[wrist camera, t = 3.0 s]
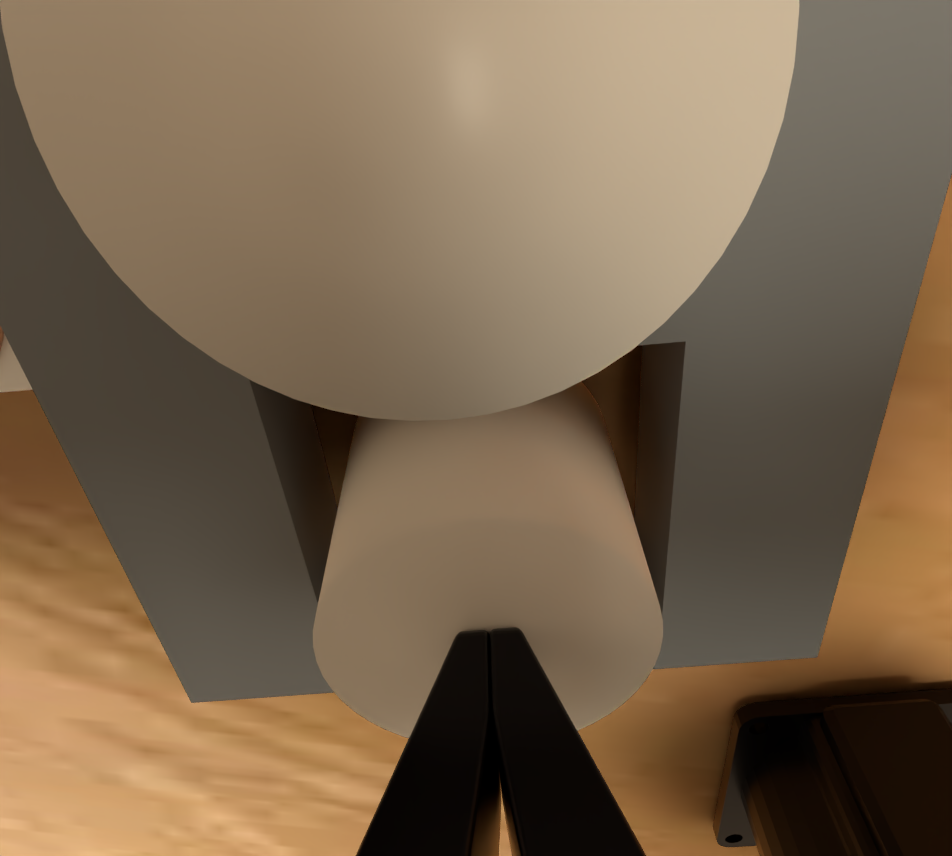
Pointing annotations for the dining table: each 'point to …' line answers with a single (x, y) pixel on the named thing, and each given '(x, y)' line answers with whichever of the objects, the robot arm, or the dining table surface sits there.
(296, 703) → the dining table surface
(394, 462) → the button
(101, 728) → the dining table surface
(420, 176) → the button
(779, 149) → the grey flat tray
